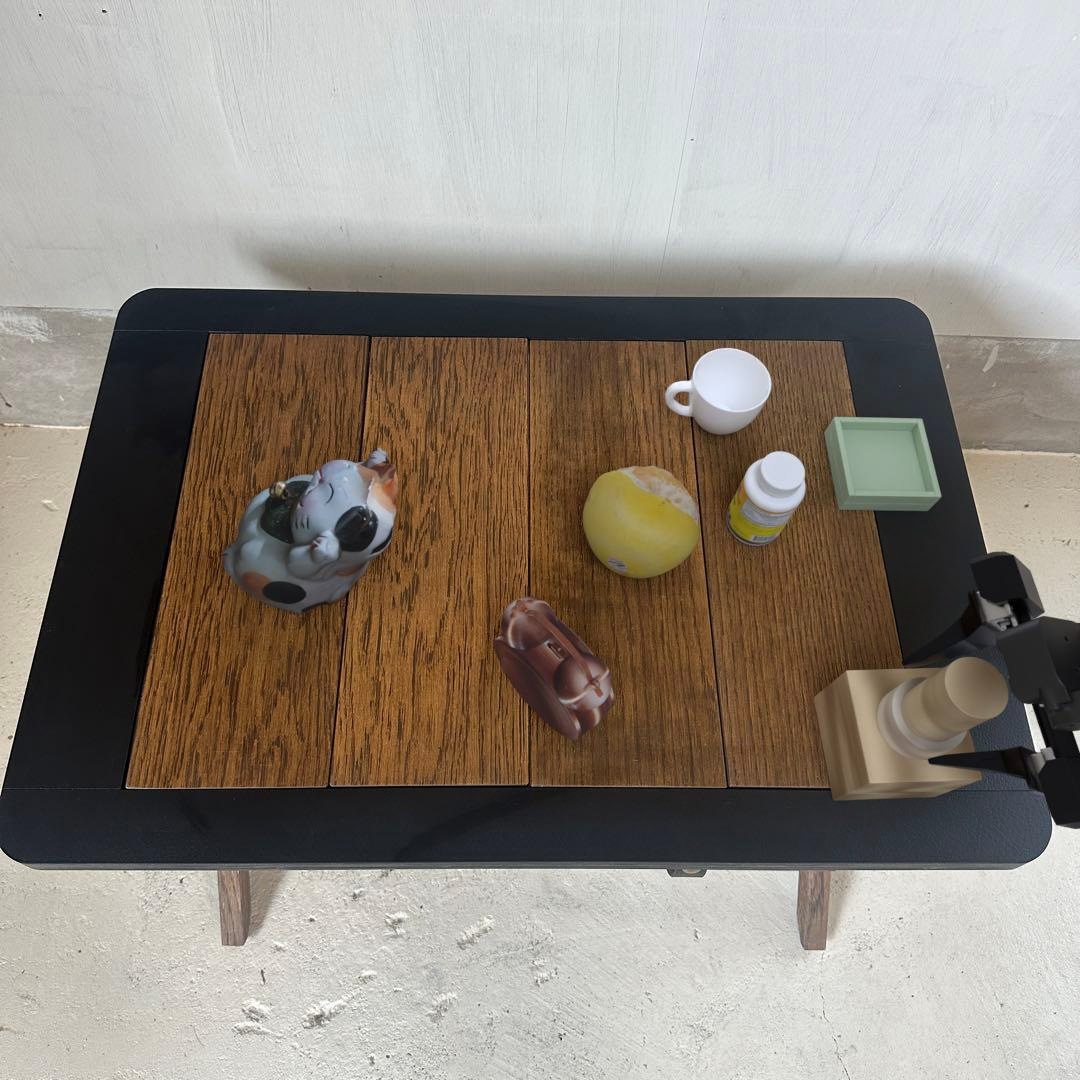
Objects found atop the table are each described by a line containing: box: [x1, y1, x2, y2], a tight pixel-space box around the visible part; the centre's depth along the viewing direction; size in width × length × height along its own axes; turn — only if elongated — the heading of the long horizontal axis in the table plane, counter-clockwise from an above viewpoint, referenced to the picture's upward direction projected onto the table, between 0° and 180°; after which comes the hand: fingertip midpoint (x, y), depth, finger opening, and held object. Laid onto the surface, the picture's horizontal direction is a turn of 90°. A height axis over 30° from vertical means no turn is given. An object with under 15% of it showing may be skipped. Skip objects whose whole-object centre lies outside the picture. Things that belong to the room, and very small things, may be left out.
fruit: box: [582, 465, 701, 579], centre depth 78 cm, size 10×11×10 cm
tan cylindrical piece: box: [877, 656, 1010, 760], centre depth 63 cm, size 6×6×10 cm
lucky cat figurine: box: [221, 447, 399, 615], centre depth 75 cm, size 15×12×14 cm
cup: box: [664, 347, 772, 436], centre depth 86 cm, size 8×10×7 cm
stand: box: [813, 667, 983, 802], centre depth 71 cm, size 9×9×8 cm
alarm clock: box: [492, 596, 616, 741], centre depth 68 cm, size 11×5×15 cm, turn 42°
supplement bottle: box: [726, 450, 806, 547], centre depth 79 cm, size 6×6×10 cm
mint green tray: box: [823, 416, 942, 512], centre depth 86 cm, size 9×9×3 cm
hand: (916, 712), depth 64 cm, fingers open, 7 cm apart
